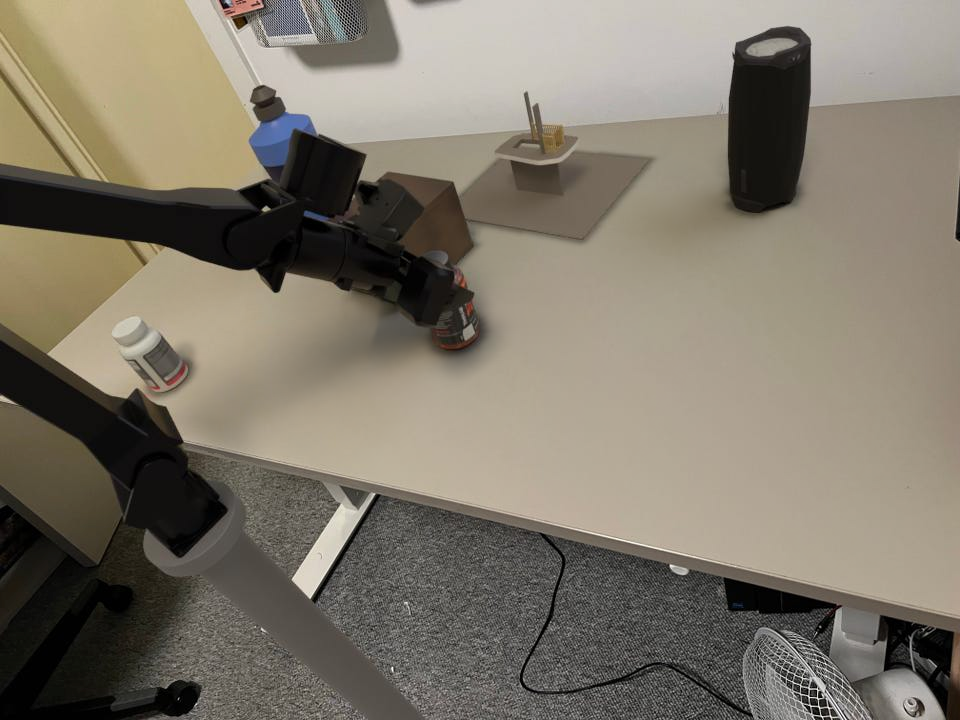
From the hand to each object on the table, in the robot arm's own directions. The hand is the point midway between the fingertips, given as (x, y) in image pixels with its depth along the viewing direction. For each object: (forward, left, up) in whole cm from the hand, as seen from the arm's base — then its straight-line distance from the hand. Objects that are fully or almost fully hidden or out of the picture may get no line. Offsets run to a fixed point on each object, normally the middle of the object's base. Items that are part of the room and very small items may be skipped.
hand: (449, 281), depth 73 cm
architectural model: (+31, +8, -8) cm, 33 cm away
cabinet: (+8, +16, -7) cm, 20 cm away
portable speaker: (+36, -23, -8) cm, 43 cm away
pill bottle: (-24, +34, -8) cm, 43 cm away
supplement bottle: (-1, 0, -8) cm, 8 cm away
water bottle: (+9, +35, -8) cm, 37 cm away
